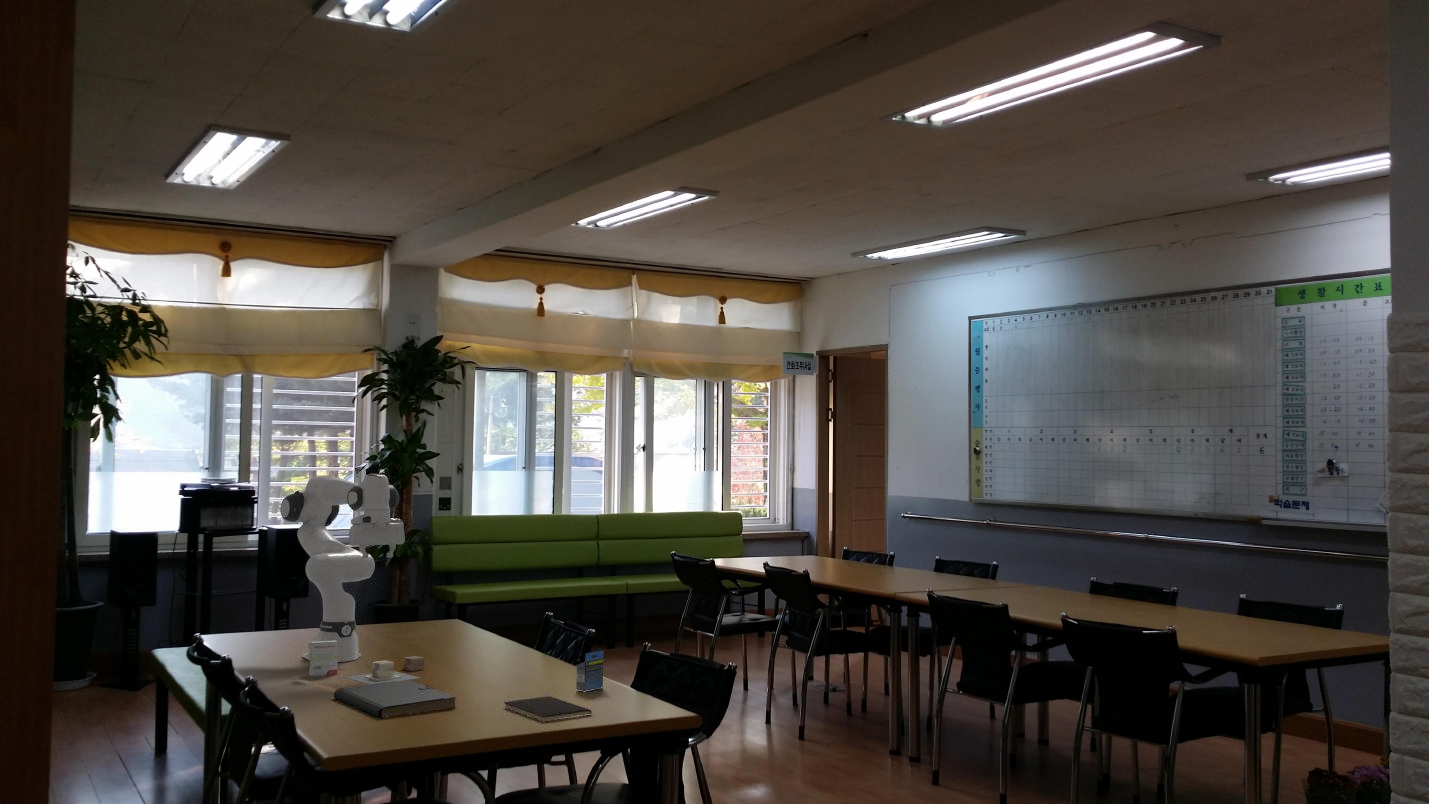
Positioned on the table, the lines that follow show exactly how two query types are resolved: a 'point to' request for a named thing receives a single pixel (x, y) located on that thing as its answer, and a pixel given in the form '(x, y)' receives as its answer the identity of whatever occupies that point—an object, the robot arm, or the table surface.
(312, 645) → the ink box
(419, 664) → the walnut block
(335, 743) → the table surface
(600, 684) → the blue grey product box
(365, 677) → the board
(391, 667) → the birch block
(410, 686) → the large dark grey book
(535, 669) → the table surface
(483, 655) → the table surface
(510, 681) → the table surface
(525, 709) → the hardcover book
